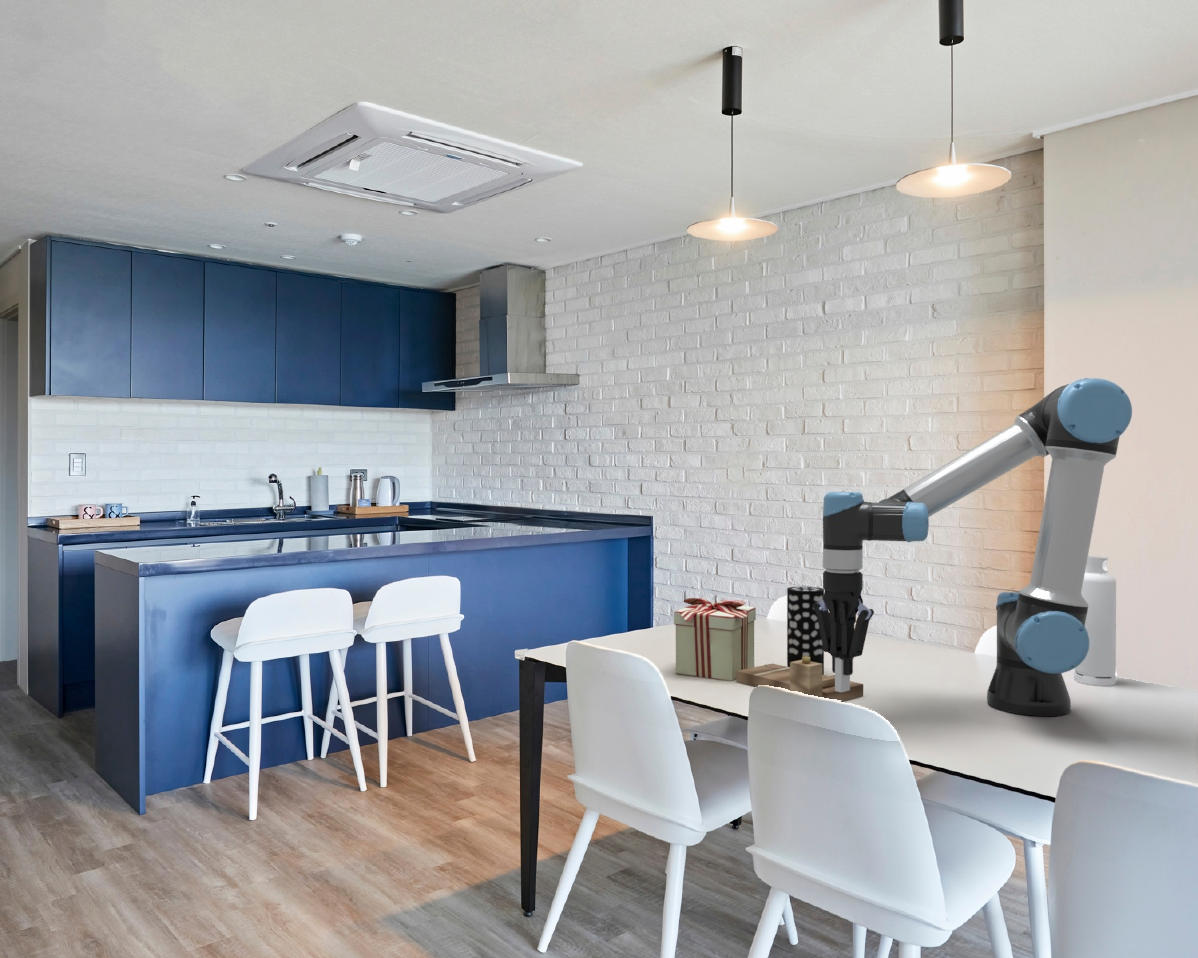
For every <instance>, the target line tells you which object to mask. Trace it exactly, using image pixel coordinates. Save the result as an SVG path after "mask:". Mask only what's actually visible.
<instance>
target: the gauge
mask: <svg viewBox="0 0 1198 958" xmlns="http://www.w3.org/2000/svg"><path fill="white" fill-rule="evenodd" d="M827 676H828V677H823V678H822V664H821V663H816V662H811V661H810V657H808V656H803V657H802V660H799V661H794V662H790V691H798V692H802V693H804V694H808V695H814V696H818V697H822V688H823V687H828V686H832V685H835V674H833V675H827Z"/></svg>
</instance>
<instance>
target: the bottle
mask: <svg viewBox="0 0 1198 958" xmlns="http://www.w3.org/2000/svg"><path fill="white" fill-rule="evenodd" d="M1107 563H1108V557H1106V556H1101V555H1088V558H1087V564H1086V569H1085V575H1084V580H1083V586H1082V591H1081V594H1082V597H1083V598H1084V599H1085V601H1086V602H1087V603H1088V611H1087V616H1086V622H1085V628H1086V630H1087V632H1088V636H1089V650H1088V653H1087V655H1086V657H1085V659H1084V660H1083V661H1082V663H1081V664H1080V665H1078V666H1077V667H1076V668H1074V669H1073V670H1074V674H1073V680H1074V681H1075V682H1077V683H1079V684H1082V685H1083V684H1084V685H1088V686H1095V687H1112V686H1115V685H1116V684H1117V682H1116V677H1117V676H1116V673H1117V672H1116V670H1117V669H1116V666H1117V665H1116V664H1117V663H1116V662H1117V658H1116V657H1117V653H1116V652H1117V651H1116V649H1117V626H1116V625H1117V581H1116V579H1115V577H1114V576H1113V575H1111V574H1110V573H1108V567H1107Z"/></svg>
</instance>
